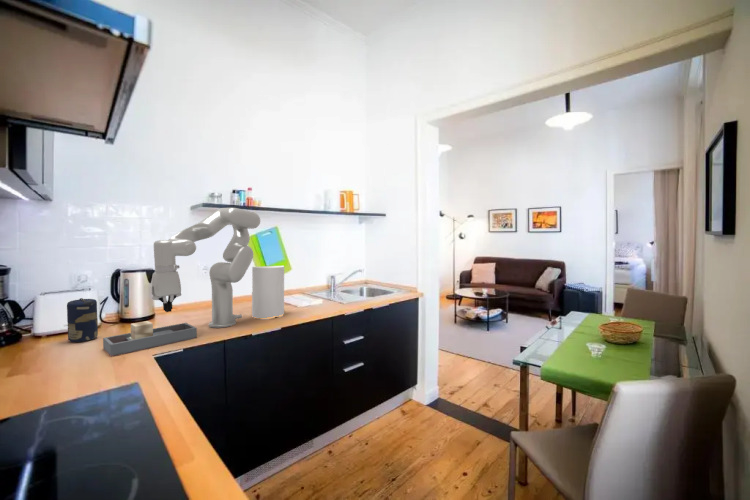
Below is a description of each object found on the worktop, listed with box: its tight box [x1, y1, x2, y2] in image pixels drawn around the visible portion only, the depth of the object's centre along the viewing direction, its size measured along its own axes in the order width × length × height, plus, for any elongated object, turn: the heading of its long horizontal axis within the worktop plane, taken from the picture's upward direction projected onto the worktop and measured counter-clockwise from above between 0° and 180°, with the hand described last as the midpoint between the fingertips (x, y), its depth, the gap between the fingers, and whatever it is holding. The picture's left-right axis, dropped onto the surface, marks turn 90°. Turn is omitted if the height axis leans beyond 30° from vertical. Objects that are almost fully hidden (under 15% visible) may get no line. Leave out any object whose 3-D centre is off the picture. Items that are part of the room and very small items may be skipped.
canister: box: [66, 297, 99, 343], centre depth 138 cm, size 10×10×18 cm
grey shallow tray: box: [102, 322, 198, 358], centre depth 135 cm, size 30×12×4 cm, turn 140°
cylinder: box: [251, 265, 285, 318], centre depth 183 cm, size 17×17×28 cm
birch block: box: [130, 320, 154, 340], centre depth 132 cm, size 6×6×6 cm
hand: (168, 311), depth 140 cm, fingers closed
